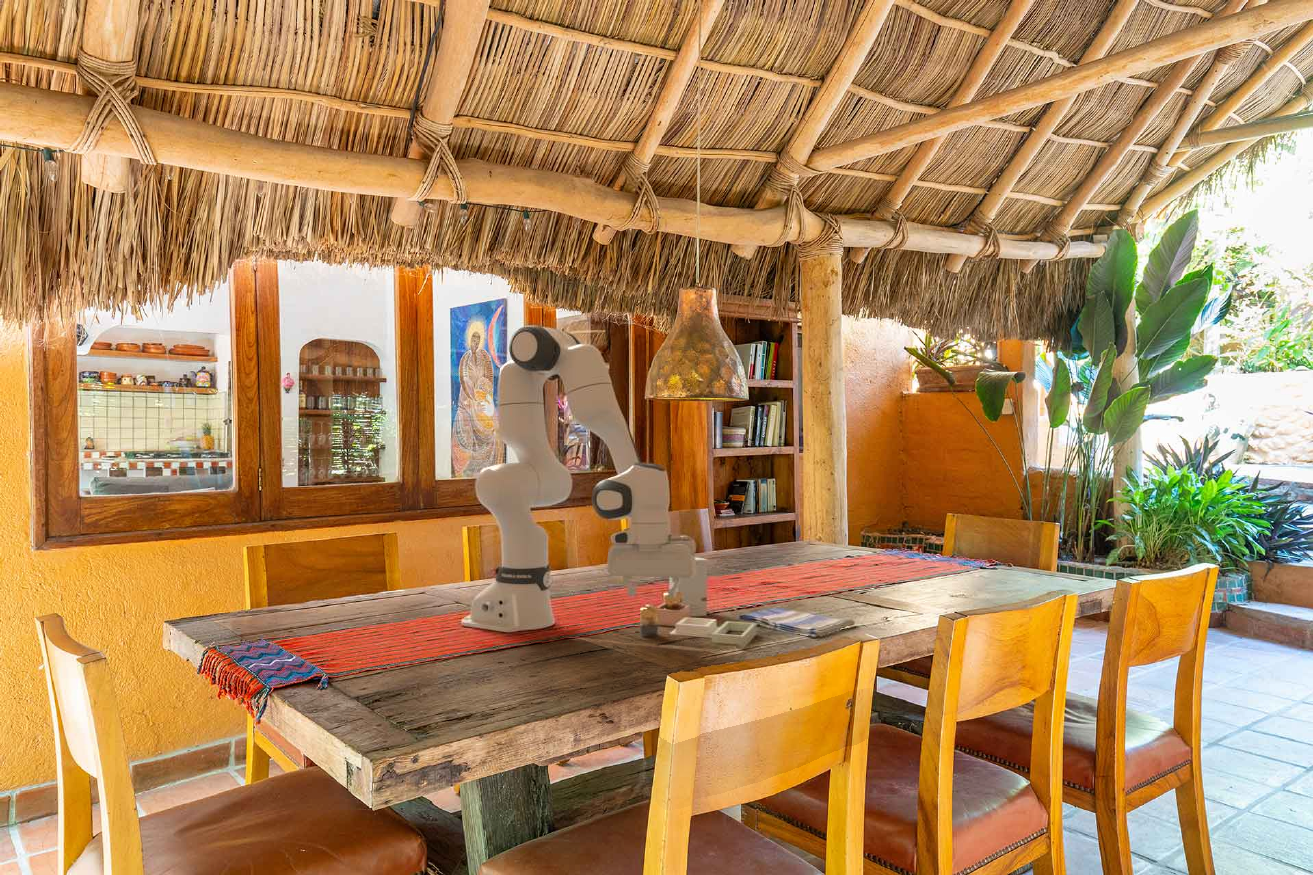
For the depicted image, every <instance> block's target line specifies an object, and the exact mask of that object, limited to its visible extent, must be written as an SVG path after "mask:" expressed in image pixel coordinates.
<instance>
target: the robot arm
mask: <svg viewBox="0 0 1313 875" xmlns="http://www.w3.org/2000/svg"><path fill="white" fill-rule="evenodd" d="M508 346H509V347H508V350H509V351H508V352H509V355H510V359H511V360H509V361H507V362H506V363H504V364H503V365H502V366H501V367H500V370H499V375H498V382H497V418H498V435H499V438H500V440H501V441H502V442H503V443H504V444H505V445H506V446H508V447H509V448H511V449H512V450H513V451H514V453H515V455H516V457H517V461H518V462H508V463H507V462H505V463H503V462H502V463H499V464H494V465H491V466H488V467H484V468H483V469H481V470H480V472H479V473H478V475H477V477H476V479H475V484H474V485H475V487H474V489H475V495H476V498H477V499H478V501H479V503H480V504H481V505H482V506H484V507H485V508H486V509H487V510H488V511H489V512H490V513H491V514H492V515H493V518H494V519H495V521H496V523H497V525H498V526H497V527H498V529H499V532H500V539H501V543H500V544H501V565H500V566H498V567H496V568H495V569H492V570H491V571H492V574H491V575H495V579H494V581H493V582H492V583H491V584H489V585H488V586H486V588H484V589H483V590H481V591H480V593H478V594H477V595H476V596H475V597H474V598H473V600H472V603H471V608H470V614H469V615H466V616H465V617H463V618H462V619H461V622H460V625H461V626H464V627H470V628H477V629H483V630H489V631H496V632H503V633H514V632H518V631H529V630H538V629H539V630H540V629H545V628H548V627H551V626H553V625H554V624H555V623H556V621H555V616H554V613H553V607H552V603H551V596H550V587H551V565H550V564H549V535H548V532H547V531H546V529H545V528H544V527H542V526H541V525H540V524H537V523H536V522H535V521H534V519H533V515H532V511H531V508H536V507H537V508H542V507H550V506H553V505H556V504H559V503H561V502H564V501H566V500H567V499H568V498H569V497H570V494H571V492H572V489H573V479H572V475H571V472H570V470H569V469H568V467H567V466H565V465H564V464H562V463H561V462H560V460H559V459H558V457H557V456H556V455H555V453H554V451H553V450H552V447H551V444H550V443H549V439H548V434H547V430H546V418H545V417H546V416H545V404H544V402H545V401H544V385H545V383H546V381H547V380H550V381H555V380H558V379H559V378H560V379H561V381H562V384H563V388H564V392H565V396H566V401H567V405H568V409H569V411H570V414H571V415H572V418H573V419H574V421H575V422H576V423H577V424H578V425H579V426H581V427H582V428H584V429H586V430H588V431H590V432H591V433H593V434H595V435H596V436H597V437H599V438H600V439H601V440H602V441H603V442H604V443H605V445H606V447H607V448H608V450H609V453H610V456H611V458H612V462H613V465H614V468H615V471H616V473H617V475H614V476H611V477H609V478H605V479H603V480H601V481H599V482H598V483H596V485H595V487H594V488H593V490H592V494H591V503H592V508H593V509H594V511H595V514H597V515H598V516H599V517H600V518H601V519H605V520H610V521H616V520H625V519H630V528H625V529H623V530H622V531H621V530H620V531H618V532H615V533H613V534H611V535H610V542H611V544H612V545H610V547H609V548H608V553H607V562H606V563H607V564H606V565H607V567H606V568H607V572H608V573H609V575H610V576H612V577H613V576H614V577H622V582H623V583H624V585H625V587H626V588H627V595H628V597H637V591H638V590H637V589H638V588H637V587H636V586H633V583H632V582H631V580H633V577H637V578H638V577H639V578H640V577H641V578H642V577H643V578H644V577H646V578H647V577H648V578H669V577H672V582H675V584H674V586H673V588H672V589H669V588H668V589H667V592H668V598H675V597H676V595H677V594H676V589H677V588H678V586H679V584H680V582H681V578H691V577H693V576H694V575H695V573H696V560H695V557H696V555H695V554H696V552H697V544H696V543H697V542H696V541H695V539H693V538H692V537H690V535H678V534H675V535H673V534H671V519H670V518H671V517H670V514H669V508H670V507H669V506H670V502H671V501H670V500H671V498H670V496H671V495H670V483H669V478H668V472H667V470H666V469H665V467H663V466H662V465H660V464H656V463H651V462H644V461H643V462H642V460H641V458H640V455H639V452H638V450H637V446H636V444H635V441H634V438H633V435H632V432H631V430H630V427H629V425H628V423H627V421H626V419H625V417H624V414H623V413H622V410H621V408H620V405H619V403H618V400H617V397H616V393H615V390H614V387H613V383H612V380H611V376H610V373H609V369H608V368H607V364H606V362H605V360H604V358H603V356H602V353H601V351H600V350H599V349H598V347H596V346H594V345H592V344H590V343H581V342H580V340H578V338H577V337H576V336H574V335H573V334H572V333H569V332H566V331H562V330H561V329H557V328H554V327H546V326H539V325H533V324H531V325H525V326H523V327H520V328H518V329H517V330H516V331H515V332H513V334H512V336H511V338H510V341H509V345H508Z"/></svg>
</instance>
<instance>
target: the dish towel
mask: <svg viewBox="0 0 1313 875" xmlns="http://www.w3.org/2000/svg"><path fill="white" fill-rule="evenodd" d="M738 618H739V620H744V621H750V622H752V623H758V624H756V627H760V626H761V628H764V627H765V628H766V629H770V628H771V629H770V630H774V629H775V630H774V631H779V632H782V631H783V633H786V632H791V633H794V634H793V635H797V634H800V635H799V636H802V635H804V636H803V637H807V636H810V637H809V638H811V637H815V636H820V635H823V634H827V633H829V632H833V631H836V630H840V629H841V628H845V627H846V626H852V625H854V624H855V625H856V622H855V621H854V620H853V619H851V618H834V617H831V616H830V617H829V616H824V615H819V614H812V613H808V612H805V611H794V610H792V609H791V610H790V609H785V608H781V607H771V608H766V609H762V610H758V611H755V612H750V613H743V614H742V613H741V614H740V615H739V617H738ZM791 633H790V634H791ZM815 638H816V637H815Z"/></svg>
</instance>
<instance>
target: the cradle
mask: <svg viewBox="0 0 1313 875" xmlns="http://www.w3.org/2000/svg"><path fill="white" fill-rule="evenodd" d="M674 627H675V629H673V630H672V631H670V632H669V635H675V636H686V637H698V638H710V639H712V634H713V633H714V632H715V631H716V630H717V629H718V628H719V627H720V626H719V627H717V619H715V618H714V619H713V618H701V617H685V618H683V619H682V620H680V621H679V622H678V623H676V624H675V626H674Z"/></svg>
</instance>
